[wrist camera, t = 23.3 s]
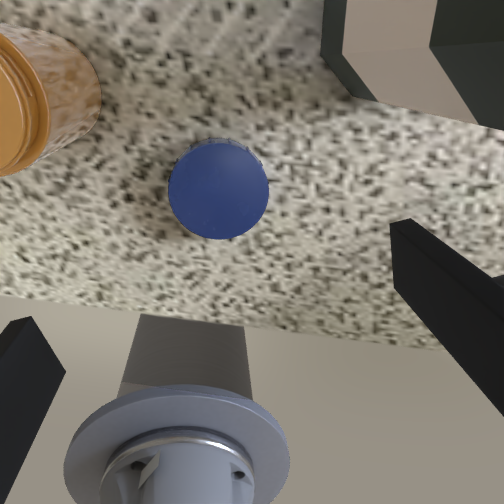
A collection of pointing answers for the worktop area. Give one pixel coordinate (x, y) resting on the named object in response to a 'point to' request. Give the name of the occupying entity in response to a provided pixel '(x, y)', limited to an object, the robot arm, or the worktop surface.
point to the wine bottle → (420, 55)
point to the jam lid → (218, 188)
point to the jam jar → (42, 96)
